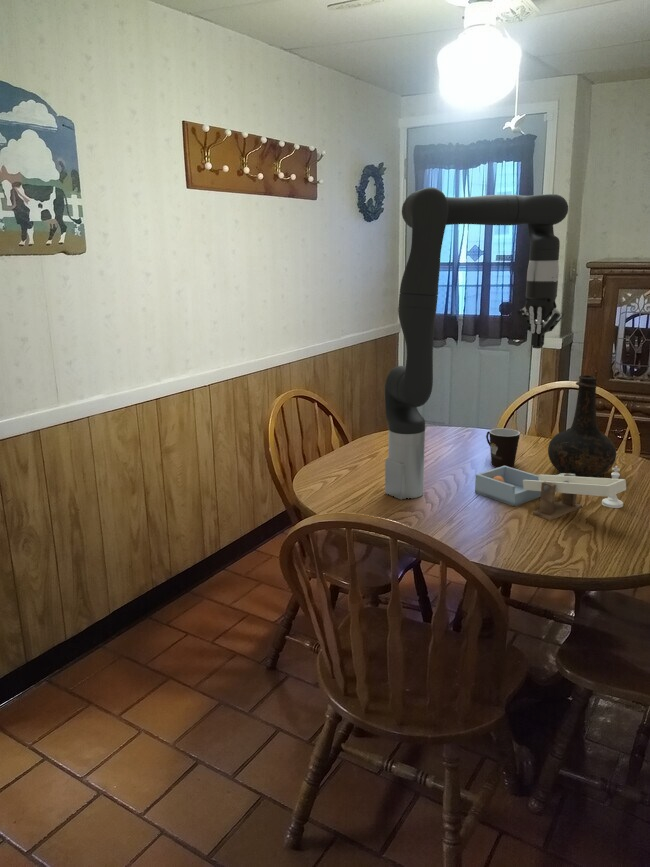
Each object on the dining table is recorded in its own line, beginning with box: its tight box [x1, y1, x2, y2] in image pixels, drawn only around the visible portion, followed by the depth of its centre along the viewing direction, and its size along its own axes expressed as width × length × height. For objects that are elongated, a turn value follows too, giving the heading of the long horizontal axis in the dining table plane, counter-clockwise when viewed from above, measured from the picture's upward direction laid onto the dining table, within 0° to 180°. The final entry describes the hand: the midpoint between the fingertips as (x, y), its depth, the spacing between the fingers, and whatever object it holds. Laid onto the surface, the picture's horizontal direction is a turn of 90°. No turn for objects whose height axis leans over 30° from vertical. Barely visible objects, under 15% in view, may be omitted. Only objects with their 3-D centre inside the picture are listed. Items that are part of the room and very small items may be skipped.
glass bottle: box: [547, 374, 617, 478], centre depth 183 cm, size 18×18×28 cm
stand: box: [532, 474, 583, 521], centre depth 160 cm, size 5×13×8 cm, turn 127°
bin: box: [474, 466, 541, 507], centre depth 171 cm, size 12×13×5 cm
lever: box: [523, 473, 627, 498], centre depth 159 cm, size 23×16×2 cm
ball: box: [493, 476, 504, 482], centre depth 174 cm, size 3×3×3 cm
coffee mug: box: [485, 427, 521, 468], centre depth 195 cm, size 12×9×10 cm
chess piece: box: [601, 465, 624, 509], centre depth 163 cm, size 5×5×10 cm
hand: (537, 347), depth 171 cm, fingers closed
